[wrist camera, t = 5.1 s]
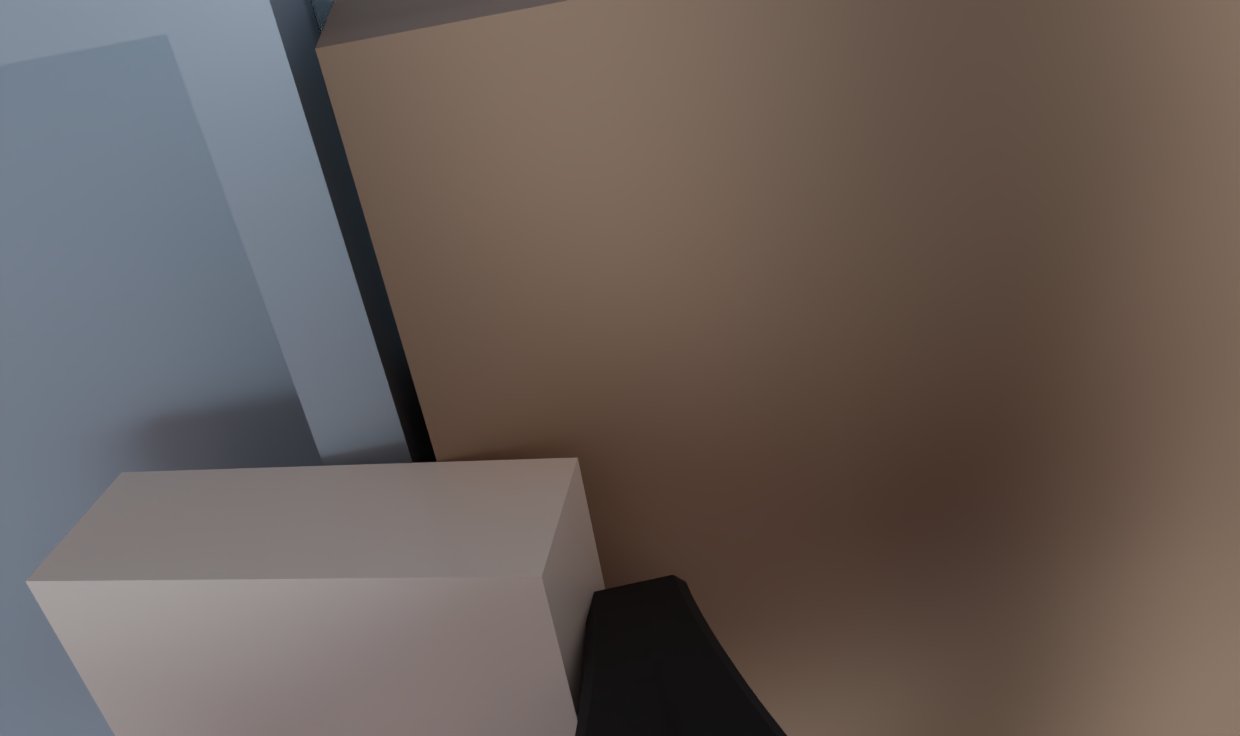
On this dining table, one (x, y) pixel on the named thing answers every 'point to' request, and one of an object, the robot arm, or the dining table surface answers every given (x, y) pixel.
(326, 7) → the dining table surface
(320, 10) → the dining table surface
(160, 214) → the box
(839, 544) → the walnut plate
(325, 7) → the dining table surface
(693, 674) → the robot arm
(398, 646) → the tile
